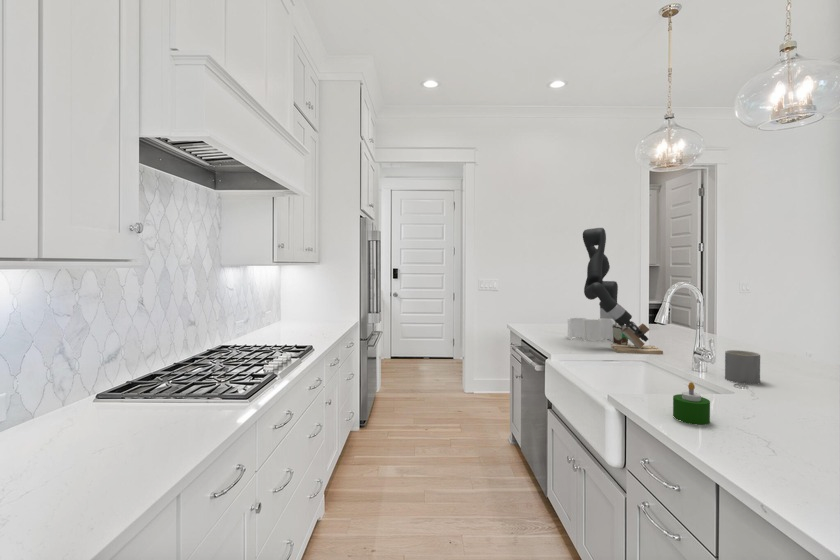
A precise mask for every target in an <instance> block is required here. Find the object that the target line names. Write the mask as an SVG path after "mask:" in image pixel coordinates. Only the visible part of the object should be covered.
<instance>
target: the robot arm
mask: <svg viewBox="0 0 840 560" xmlns="http://www.w3.org/2000/svg"><path fill="white" fill-rule="evenodd" d="M582 240H583V243H584V247H585V249H586V251H587V254H588V257H589V258H588V259H589V261H588V264H587V269H586V272H587V273H586V274H587V275H586V280H585V283H584V288H583V294H584V296H585V298H586V299H588V300H592V301H593V300H595V299H597V298H598V300H599V304H598V305H599V319H601V318H607V319H613V320H614V321H615V324H618V325H619V326H623V325H626V327H627V328H628V329H630V330H631V331H632V332H633V333H636V334H637V335H638V336H639V337H640V338H639V339H640V340H641V341H643V342H645V343H646V342H647V341H648V340H649V337H648V336H646V335H645V334H643V332H642V331H641V330H640V328H639V326H637V323H635V322H634V321H631V319H632V317H633V315H632V314H630V312H628V311H627V310H626V309H625V308H624V307H623V306H622V305H621V304H619V302H618V293H619V292H618V291H619V289H618V288H619V286H618V285H619V284H618V282H617V281H615V280H611V281H610V280H604V278H605V277H606V276H607V274H608V273H609V272H610V268H611V267H610V261H609V259H608V257H607V256H606V254H605V249H606V244H607V233H606V230H605V228H603V227H594V228H587V229H584V230H583V231H582ZM596 247H597V248H596ZM639 331H640V332H639ZM638 332H639V333H638Z"/></svg>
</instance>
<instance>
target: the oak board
mask: <svg viewBox="0 0 840 560" xmlns="http://www.w3.org/2000/svg"><path fill="white" fill-rule="evenodd" d="M610 347H611V348H612V349H613V351H615V352H616V353H620V354H641V355H643V354H645V355H664V351H663V350H662V349H660V348H658V347H657V346H655V345H643V346H642V347H641V348H637V347H636V346H635V345H634V344H628V345H618V344H614V343H613V344H610Z"/></svg>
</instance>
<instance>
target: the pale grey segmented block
mask: <svg viewBox="0 0 840 560" xmlns="http://www.w3.org/2000/svg"><path fill="white" fill-rule="evenodd" d="M613 324H615V321H614V320H613V319H607V318H601V319H600V318H597V319H595V318H593V319H591V318H585V317H567V339H568V340H569V339H572V340H573V338H572V337H579V338H578V339H582V338H583V339H582V341H583V340H586V341H588V340H596V341H595V342H603V340H607V339H609V340H608V341H611V342H613V328H612V326H613Z"/></svg>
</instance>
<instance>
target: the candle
mask: <svg viewBox="0 0 840 560" xmlns="http://www.w3.org/2000/svg"><path fill="white" fill-rule="evenodd" d="M687 386H688V391H682V392H681V393H680V394H673V397H672V417H673V416H674V417H675V418H676V419H678V420H681V421H683V422H682V423H684V422H686V423H685V424H689V423H690V424H689V425H695V424H697V425H698V426H702V425H703V426H705V424H706V425H709V424H710V423H711V400H709V399H708V398H706V397H703V396H702V395H701V394H700V393H696V392H695V388H696V387H695V384H694V383H693V382H692V381H690V382H689V383H688V385H687ZM674 417H673V418H674ZM675 418H674V419H675ZM676 419H675V420H676ZM678 420H677V421H678ZM681 421H680V422H681ZM697 425H696V426H697Z"/></svg>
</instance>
